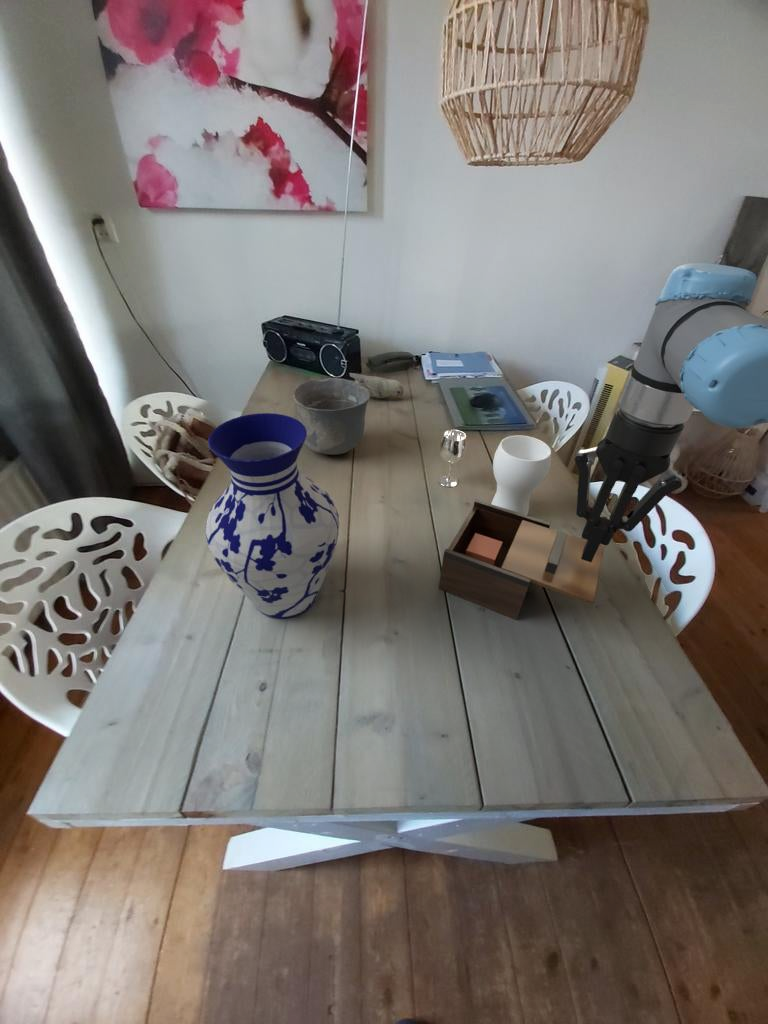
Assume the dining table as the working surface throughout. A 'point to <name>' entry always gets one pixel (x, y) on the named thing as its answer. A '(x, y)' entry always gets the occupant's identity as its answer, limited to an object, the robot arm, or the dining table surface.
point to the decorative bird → (379, 386)
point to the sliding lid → (554, 561)
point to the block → (484, 549)
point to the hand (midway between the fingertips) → (587, 555)
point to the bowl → (331, 414)
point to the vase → (270, 516)
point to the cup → (519, 471)
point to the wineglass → (452, 453)
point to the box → (479, 577)
